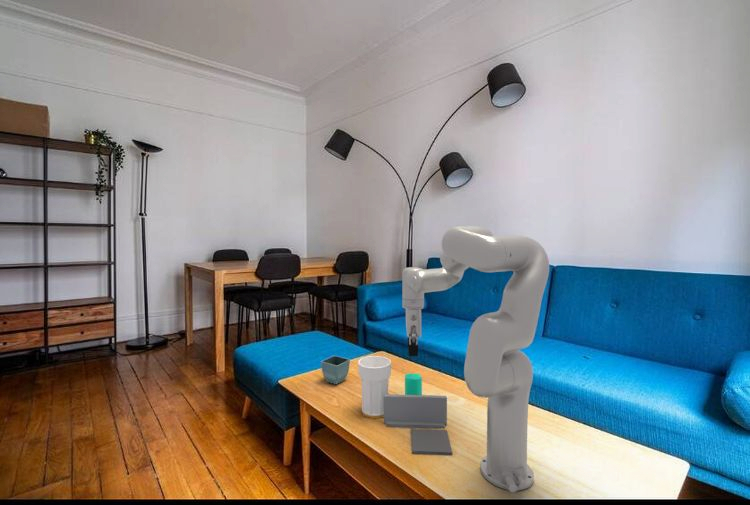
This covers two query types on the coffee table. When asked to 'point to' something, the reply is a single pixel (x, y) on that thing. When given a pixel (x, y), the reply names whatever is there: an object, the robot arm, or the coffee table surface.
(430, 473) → the coffee table surface
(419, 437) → the mat
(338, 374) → the flower pot
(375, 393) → the cup
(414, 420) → the board
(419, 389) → the candle
